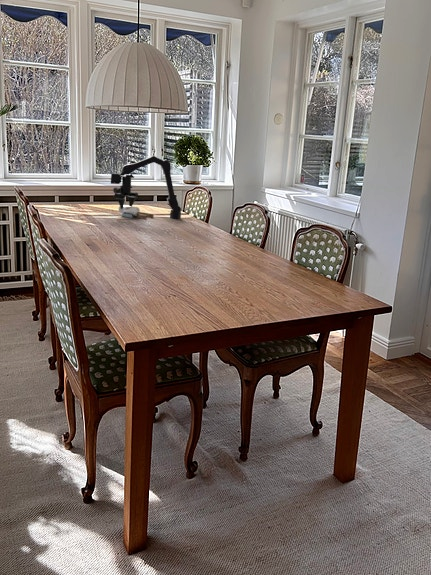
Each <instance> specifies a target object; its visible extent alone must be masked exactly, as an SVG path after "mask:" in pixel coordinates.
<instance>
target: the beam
mask: <svg viewBox="0 0 431 575" xmlns="http://www.w3.org/2000/svg"><path fill="white" fill-rule="evenodd" d="M120 215H121V216H122V213H120ZM136 219H142V220H148V219H154V213H149V212H143V211H140V212H139V215H138V216H137V218H136Z"/></svg>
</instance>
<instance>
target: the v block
mask: <svg viewBox="0 0 431 575" xmlns="http://www.w3.org/2000/svg"><path fill="white" fill-rule="evenodd" d="M121 214H122V215H121V217H122V218H128V219H131V220H132V219H138V218H137V216H135V215H132V214H126V213H121Z"/></svg>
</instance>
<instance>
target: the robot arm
mask: <svg viewBox="0 0 431 575" xmlns="http://www.w3.org/2000/svg"><path fill="white" fill-rule="evenodd" d="M154 163H155V164H156V165H159V166H160V168H161V170H162V172H163V175H164V179H165V184H166V187H167V194H168V197H166V201H167V205H168V206H169V207H170V208H171V209H170V212H169V218H170V219H172V220H181V219H182V218H181V217H182V207H180V205H179V202H178V199H177V197H176V195H175V190H174V186H173V181H172V176H171V170H172V169H171V168H172V167H171V163H170V161H169V160H167V159H161V158H159V157H156V155H151V156H149V157H147V158H144V159H141V160H139V161H137V162H133V163H127V164H124V165H123V166H122V169H121V171H120V172H119V173H114V172H111V173H110V174H111V175H110V184H113V185H120V184H121V185H120V187H119V188H118V187H113V190H112V191H113V198H114V199H115V200H117V202H118V204H119V206H120V208H121V209H123V205H124V204H125V201H126V198H128V206H133V204H135V201H136V200H137V199H138V198H139V193H138V192H136V191H132V189H133V185H132V179H135V176H134V175H133V174H132V173H133V172H135V171H136V170H138V169H140V168H142V167H145V166H148V165H150V164H154Z"/></svg>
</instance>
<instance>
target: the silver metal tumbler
mask: <svg viewBox="0 0 431 575" xmlns="http://www.w3.org/2000/svg"><path fill="white" fill-rule="evenodd" d="M118 212H119V214H122V213H126V214H132V215H135V216H138V215H139V212H141V211H140V208H139V207H138V206H133V205H132V206H129V205H126V204H125V205H123V209H121V208H120V205H119V207H118Z"/></svg>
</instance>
